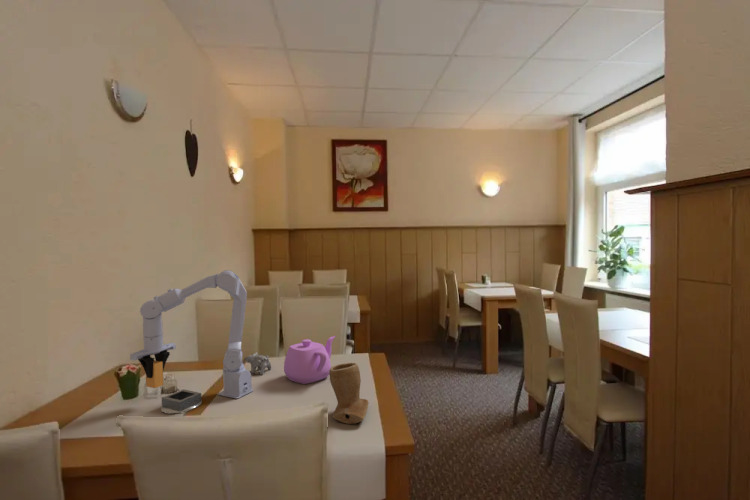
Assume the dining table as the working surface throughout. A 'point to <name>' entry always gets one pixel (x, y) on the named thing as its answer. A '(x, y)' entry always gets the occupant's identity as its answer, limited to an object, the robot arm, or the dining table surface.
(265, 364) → the gray elephant figurine
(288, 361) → the teapot
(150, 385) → the rectangular block
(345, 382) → the clay pipe bowl
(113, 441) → the dining table surface
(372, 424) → the dining table surface
